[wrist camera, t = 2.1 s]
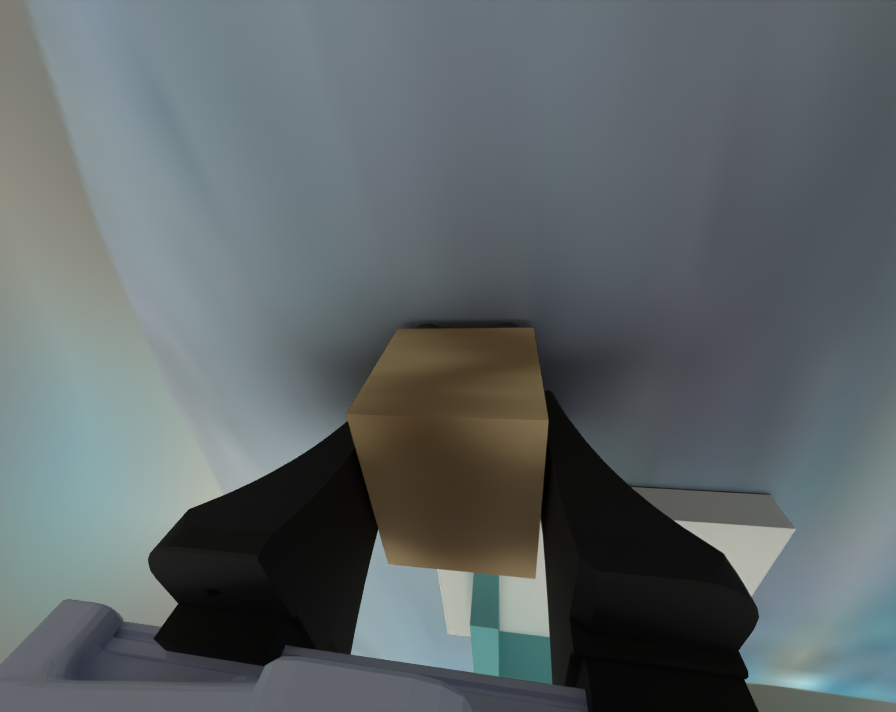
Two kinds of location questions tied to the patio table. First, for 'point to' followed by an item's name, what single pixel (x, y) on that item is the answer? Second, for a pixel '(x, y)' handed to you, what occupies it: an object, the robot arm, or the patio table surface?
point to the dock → (525, 600)
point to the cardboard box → (455, 448)
